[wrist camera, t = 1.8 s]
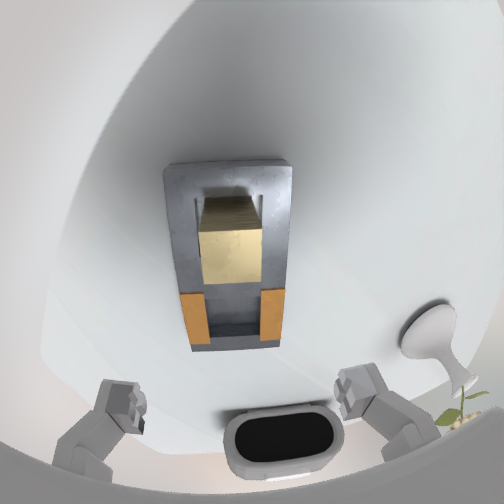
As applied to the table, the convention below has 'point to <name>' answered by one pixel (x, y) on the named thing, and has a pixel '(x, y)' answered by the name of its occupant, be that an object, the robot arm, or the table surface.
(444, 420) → the flower in vase
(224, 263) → the brass block
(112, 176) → the table surface
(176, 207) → the rail
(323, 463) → the alarm clock
